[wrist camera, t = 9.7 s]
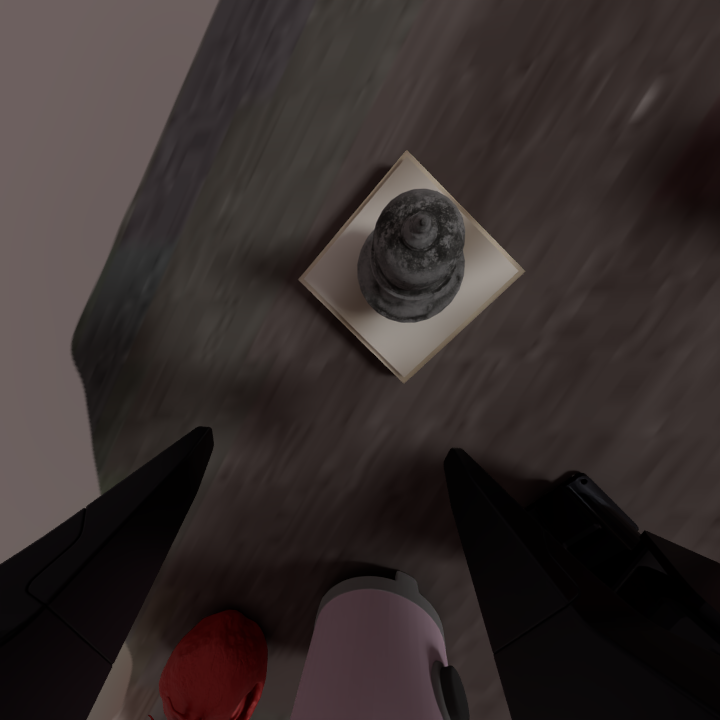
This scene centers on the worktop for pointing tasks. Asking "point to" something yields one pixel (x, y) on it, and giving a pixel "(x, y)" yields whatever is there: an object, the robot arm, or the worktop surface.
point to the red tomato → (216, 670)
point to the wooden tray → (391, 338)
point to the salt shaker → (413, 257)
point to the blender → (378, 657)
